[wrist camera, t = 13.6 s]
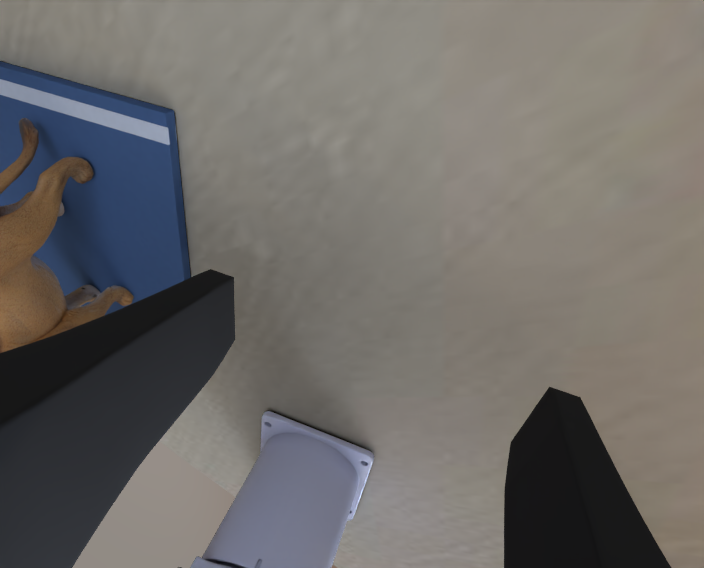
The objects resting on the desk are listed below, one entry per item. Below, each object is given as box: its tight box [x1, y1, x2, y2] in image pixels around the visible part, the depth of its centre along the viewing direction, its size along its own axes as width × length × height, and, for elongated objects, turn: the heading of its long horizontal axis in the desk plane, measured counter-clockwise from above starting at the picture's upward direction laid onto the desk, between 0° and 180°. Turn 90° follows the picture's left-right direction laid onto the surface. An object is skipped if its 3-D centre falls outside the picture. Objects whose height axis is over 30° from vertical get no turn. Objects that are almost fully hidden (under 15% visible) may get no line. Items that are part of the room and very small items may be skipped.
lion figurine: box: [0, 118, 134, 353], centre depth 21 cm, size 15×5×9 cm, turn 5°
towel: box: [0, 61, 191, 315], centre depth 24 cm, size 16×13×1 cm
